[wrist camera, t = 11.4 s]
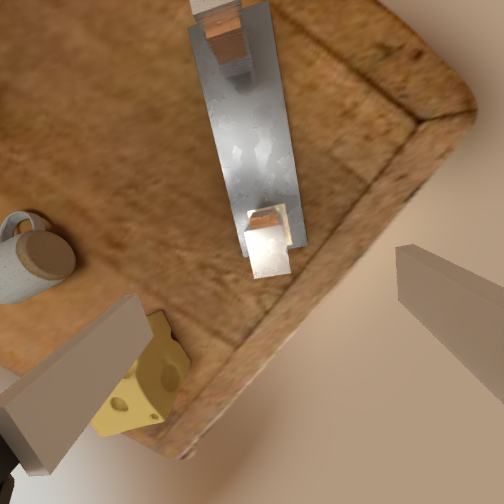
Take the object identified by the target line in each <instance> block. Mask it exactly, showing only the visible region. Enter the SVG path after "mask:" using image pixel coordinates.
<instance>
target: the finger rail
mask: <svg viewBox="0 0 504 504" xmlns="http://www.w3.org/2000/svg"><path fill="white" fill-rule="evenodd" d="M190 4H191V8H192V13H193V16H194V18H195V20H196V22H197V25H194V26H191V27H188V32H189V37H190V41H191V45H192V49H193V53H194V57H195V61H196V65H197V69H198V73H199V77H200V82H201V86H202V90H203V94H204V98H205V102H206V106H207V110H208V114H209V118H210V122H211V127H212V131H213V135H214V139H215V143H216V147H217V151H218V155H219V159H220V163H221V167H222V172H223V176H224V180H225V184H226V188H227V192H228V196H229V200H230V204H231V208H232V212H233V216H234V221H235V225H236V229H237V233H238V237H239V241H240V245H241V249H242V253H243V257H249V253H248V248H247V244H246V239H245V235H244V231H245V229H246V227H247V225H248V223H249V218H250V216H251V214H252V213H253V212H257V211H262V210H267V209H272V208H276V209H277V208H279V209H280V214H281V219H282V224H283V230H284V236H285V242H286V248H287V249H292V248H297V247H303V246H308V243H307V237H306V230H305V224H304V218H303V212H302V206H301V200H300V193H299V187H298V181H297V175H296V169H295V162H294V156H293V150H292V144H291V138H290V132H289V125H288V119H287V113H286V107H285V101H284V94H283V88H282V82H281V76H280V70H279V64H278V57H277V51H276V45H275V39H274V33H273V26H272V20H271V14H270V8H269V2H268V0H267V1H264V2H261V3H258V4H255V5H252V6H250V7H247V8H244V9H242V6H241V0H190Z"/></svg>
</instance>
